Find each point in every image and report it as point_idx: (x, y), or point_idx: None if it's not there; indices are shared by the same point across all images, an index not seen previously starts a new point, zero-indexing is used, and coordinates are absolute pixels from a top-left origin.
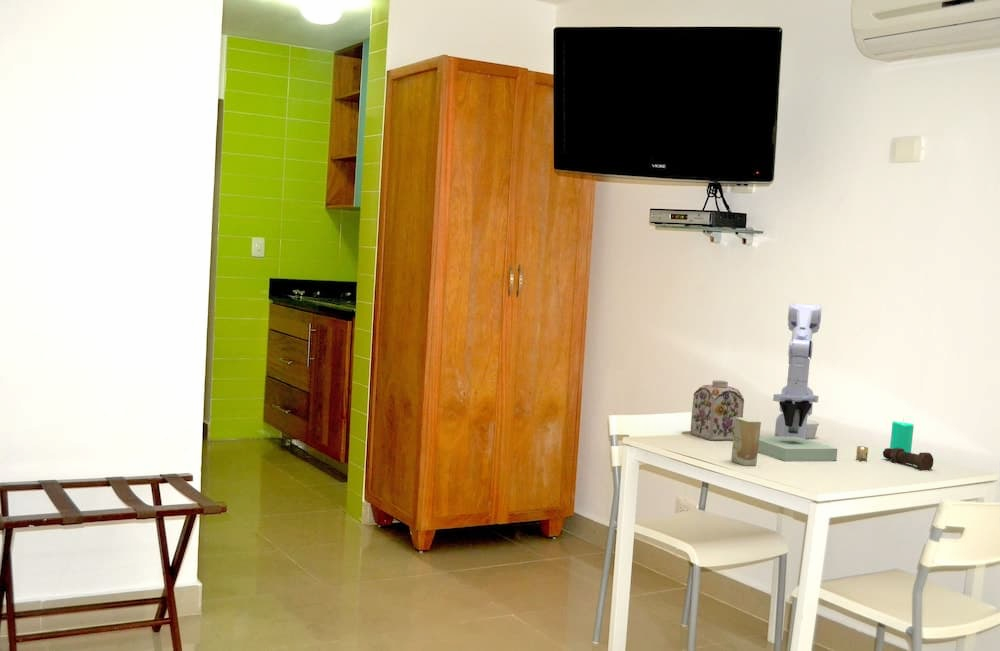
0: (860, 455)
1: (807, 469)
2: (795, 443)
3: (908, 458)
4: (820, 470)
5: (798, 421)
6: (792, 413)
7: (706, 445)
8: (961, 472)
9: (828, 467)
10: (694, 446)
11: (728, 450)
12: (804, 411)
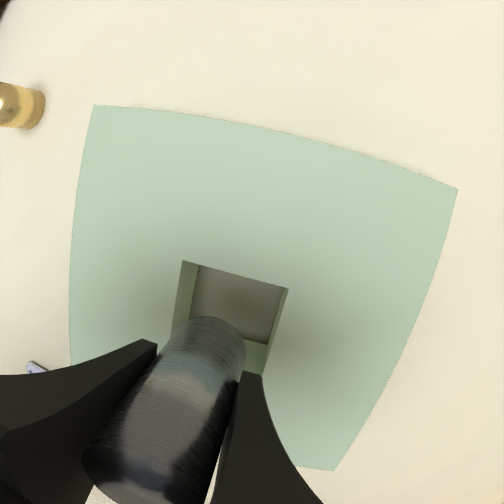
0: (28, 95)
1: (452, 38)
2: (174, 329)
3: None
4: (407, 3)
5: (171, 367)
6: (252, 449)
7: (426, 474)
8: None
9: (312, 17)
10: (472, 462)
11: (444, 416)
12: (66, 398)
